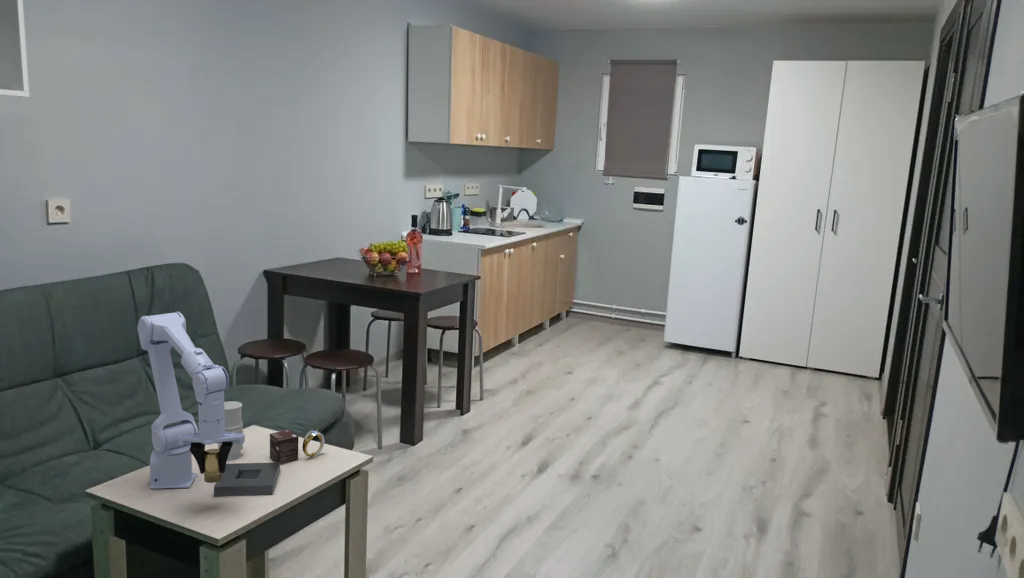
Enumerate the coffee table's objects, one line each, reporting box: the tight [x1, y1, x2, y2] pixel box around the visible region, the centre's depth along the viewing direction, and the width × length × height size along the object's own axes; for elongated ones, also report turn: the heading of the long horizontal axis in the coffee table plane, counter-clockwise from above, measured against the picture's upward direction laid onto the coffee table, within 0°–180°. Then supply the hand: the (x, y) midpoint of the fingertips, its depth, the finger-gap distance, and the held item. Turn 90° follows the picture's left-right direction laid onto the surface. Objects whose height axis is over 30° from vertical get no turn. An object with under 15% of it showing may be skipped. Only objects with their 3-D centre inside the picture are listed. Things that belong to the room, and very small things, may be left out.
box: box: [269, 429, 300, 465], centre depth 202 cm, size 6×6×7 cm
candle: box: [217, 400, 244, 461], centre depth 202 cm, size 7×7×15 cm
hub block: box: [213, 461, 281, 497], centre depth 187 cm, size 14×14×2 cm
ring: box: [302, 429, 325, 458], centre depth 205 cm, size 7×3×8 cm, turn 140°
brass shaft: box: [203, 448, 222, 484], centre depth 173 cm, size 4×4×7 cm
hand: (212, 471), depth 173 cm, fingers closed on brass shaft, 4 cm apart
